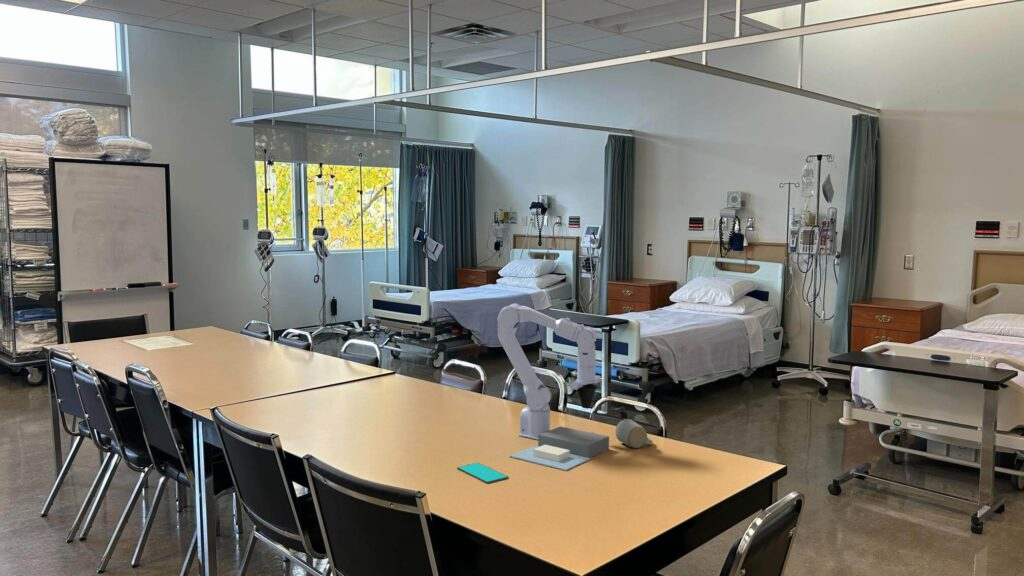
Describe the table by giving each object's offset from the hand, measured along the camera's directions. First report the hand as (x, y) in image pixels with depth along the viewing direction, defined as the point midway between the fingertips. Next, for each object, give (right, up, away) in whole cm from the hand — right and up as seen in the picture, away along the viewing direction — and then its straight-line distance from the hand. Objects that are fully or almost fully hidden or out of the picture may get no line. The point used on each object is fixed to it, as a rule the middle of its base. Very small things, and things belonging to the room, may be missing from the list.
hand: (586, 407), depth 237 cm
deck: (-5, -11, -8) cm, 15 cm away
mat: (-12, -12, -18) cm, 25 cm away
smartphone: (-32, -14, -31) cm, 47 cm away
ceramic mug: (+15, -11, -4) cm, 19 cm away
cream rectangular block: (-12, -10, -18) cm, 23 cm away
